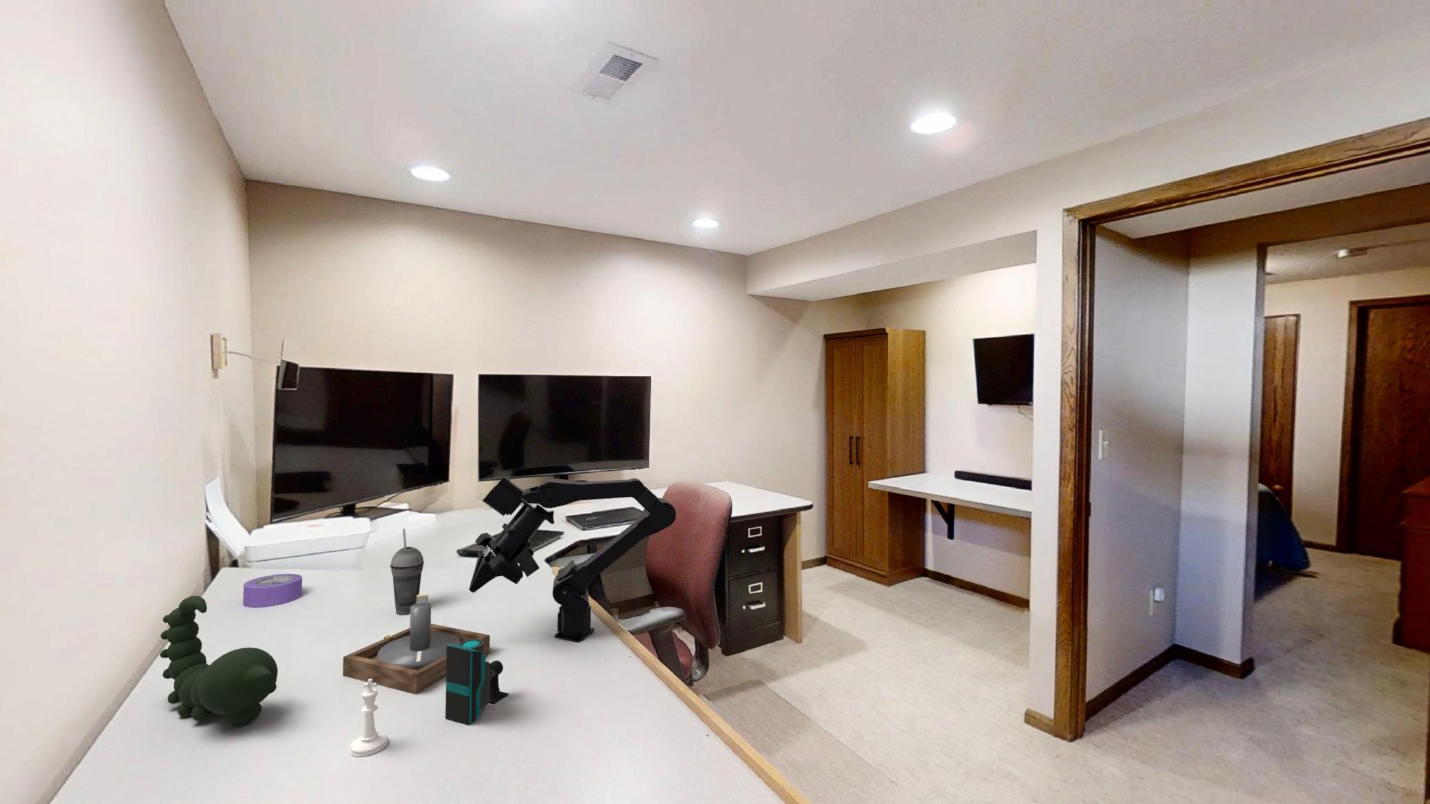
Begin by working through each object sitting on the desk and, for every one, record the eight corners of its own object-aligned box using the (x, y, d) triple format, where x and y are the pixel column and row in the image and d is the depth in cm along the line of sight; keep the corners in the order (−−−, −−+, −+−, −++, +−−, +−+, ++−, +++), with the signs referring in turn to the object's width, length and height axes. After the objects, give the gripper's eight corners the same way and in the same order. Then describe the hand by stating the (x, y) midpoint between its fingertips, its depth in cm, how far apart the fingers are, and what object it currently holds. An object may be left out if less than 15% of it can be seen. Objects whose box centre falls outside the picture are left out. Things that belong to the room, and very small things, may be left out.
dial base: (490, 651, 116) (490, 632, 116) (416, 694, 99) (416, 672, 99) (422, 637, 123) (423, 619, 123) (341, 675, 105) (342, 654, 105)
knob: (460, 663, 107) (461, 613, 107) (372, 678, 101) (373, 624, 101) (459, 634, 120) (460, 589, 120) (381, 646, 114) (382, 598, 114)
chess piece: (360, 737, 87) (361, 672, 87) (394, 736, 87) (395, 671, 87) (342, 757, 82) (343, 688, 82) (377, 756, 82) (379, 687, 82)
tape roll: (292, 589, 152) (292, 570, 152) (309, 598, 145) (309, 579, 145) (236, 601, 142) (236, 581, 142) (251, 611, 136) (252, 591, 136)
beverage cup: (408, 618, 133) (410, 533, 133) (381, 615, 134) (383, 531, 134) (430, 607, 140) (431, 526, 140) (404, 605, 141) (406, 525, 141)
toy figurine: (141, 723, 92) (236, 747, 83) (137, 603, 93) (231, 613, 83) (212, 695, 101) (305, 714, 91) (208, 586, 102) (300, 593, 92)
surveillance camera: (514, 627, 99) (471, 651, 90) (513, 695, 99) (470, 726, 90) (489, 622, 101) (444, 645, 92) (487, 689, 101) (443, 718, 92)
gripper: (562, 562, 118) (512, 628, 114) (537, 534, 134) (492, 591, 130) (521, 535, 113) (467, 603, 109) (499, 509, 128) (451, 568, 124)
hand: (471, 591), depth 118 cm, fingers closed
